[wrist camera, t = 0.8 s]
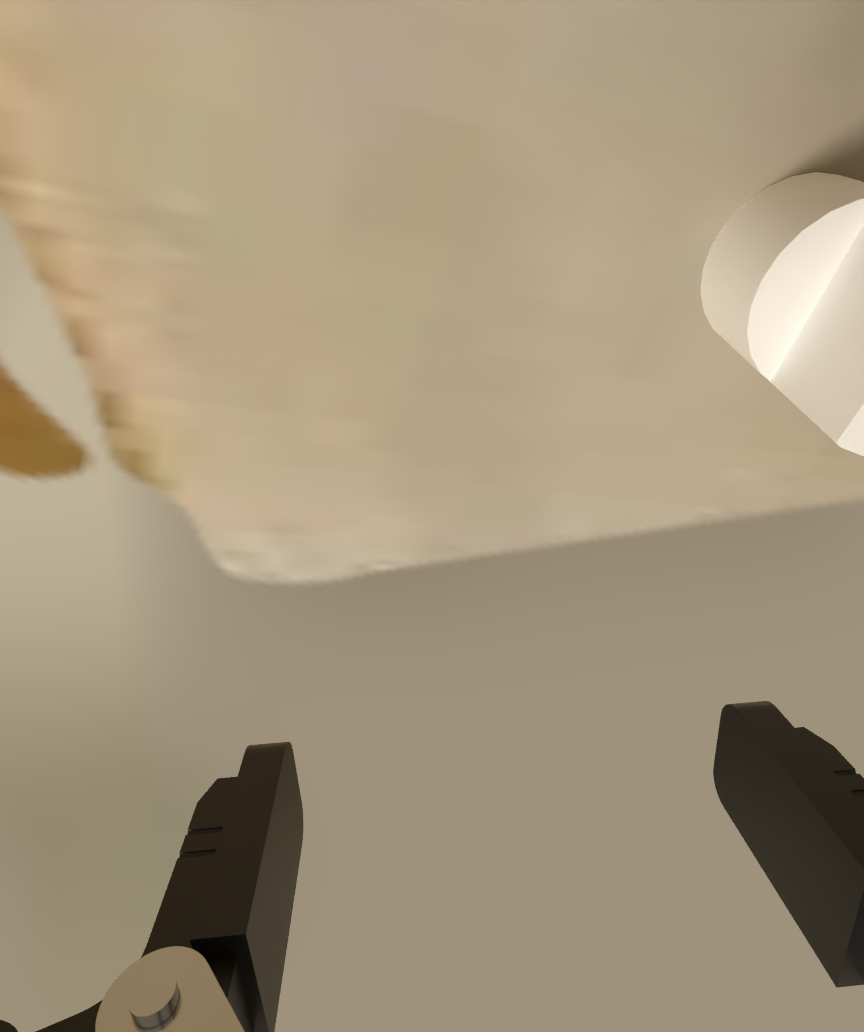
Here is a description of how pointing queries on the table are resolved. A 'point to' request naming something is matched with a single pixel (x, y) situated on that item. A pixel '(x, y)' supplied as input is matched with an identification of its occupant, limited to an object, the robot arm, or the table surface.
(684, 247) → the table surface
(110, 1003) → the robot arm
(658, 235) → the table surface
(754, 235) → the white upright block
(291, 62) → the table surface
